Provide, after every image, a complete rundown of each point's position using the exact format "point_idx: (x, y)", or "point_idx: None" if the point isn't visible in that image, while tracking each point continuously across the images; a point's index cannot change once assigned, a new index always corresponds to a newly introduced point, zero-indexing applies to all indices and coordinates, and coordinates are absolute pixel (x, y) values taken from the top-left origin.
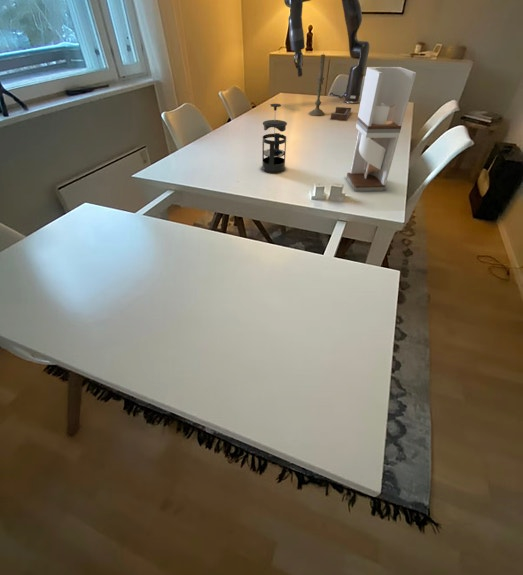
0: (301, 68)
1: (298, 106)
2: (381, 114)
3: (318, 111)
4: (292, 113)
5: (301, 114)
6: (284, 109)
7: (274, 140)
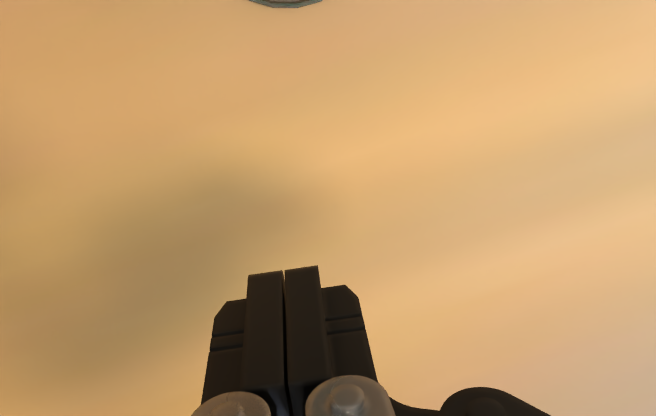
0: (294, 380)
1: (38, 236)
2: None
3: None
4: (375, 193)
5: (377, 84)
6: None
7: None
